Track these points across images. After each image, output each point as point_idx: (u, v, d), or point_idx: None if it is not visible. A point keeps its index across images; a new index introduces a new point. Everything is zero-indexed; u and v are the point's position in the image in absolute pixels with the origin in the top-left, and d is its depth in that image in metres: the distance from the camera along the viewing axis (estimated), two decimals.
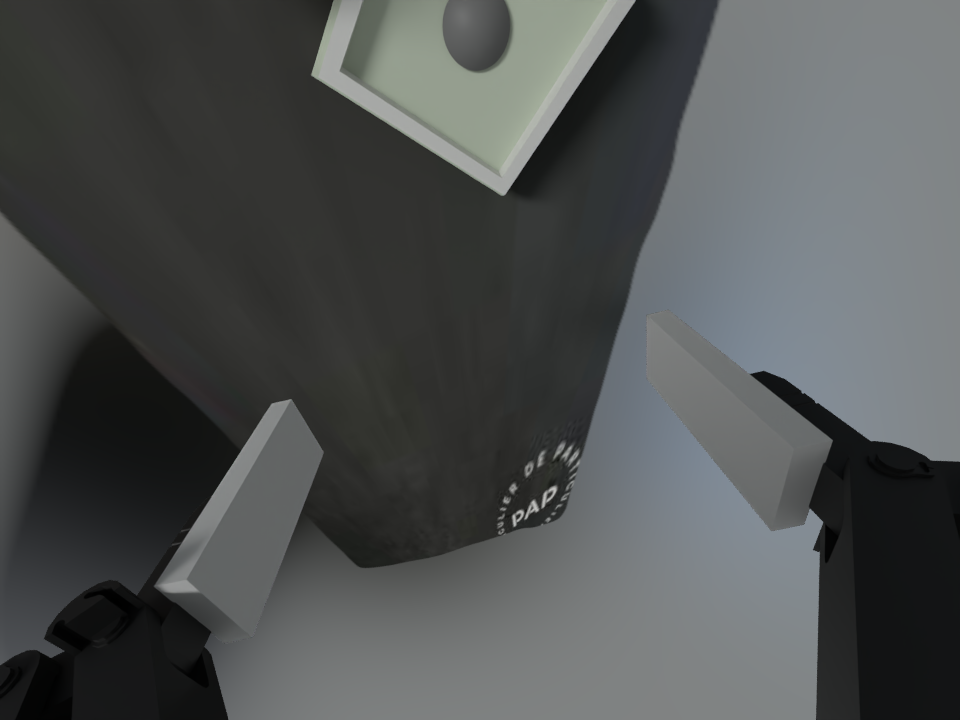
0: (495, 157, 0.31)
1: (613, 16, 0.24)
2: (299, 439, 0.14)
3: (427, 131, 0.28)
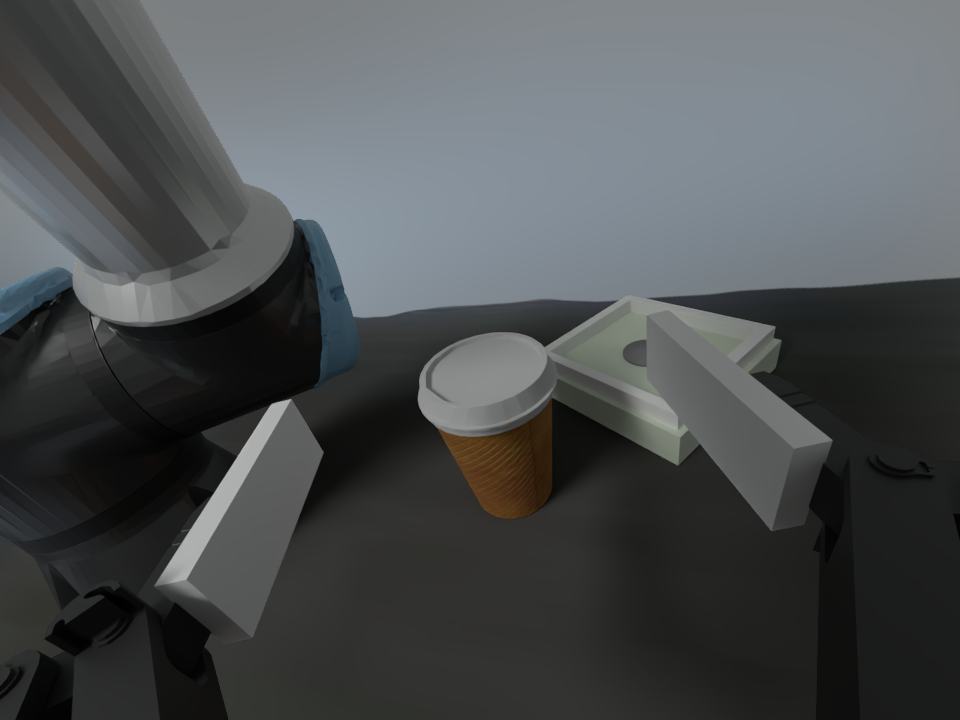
0: None
1: (641, 300, 0.43)
2: (299, 439, 0.14)
3: None
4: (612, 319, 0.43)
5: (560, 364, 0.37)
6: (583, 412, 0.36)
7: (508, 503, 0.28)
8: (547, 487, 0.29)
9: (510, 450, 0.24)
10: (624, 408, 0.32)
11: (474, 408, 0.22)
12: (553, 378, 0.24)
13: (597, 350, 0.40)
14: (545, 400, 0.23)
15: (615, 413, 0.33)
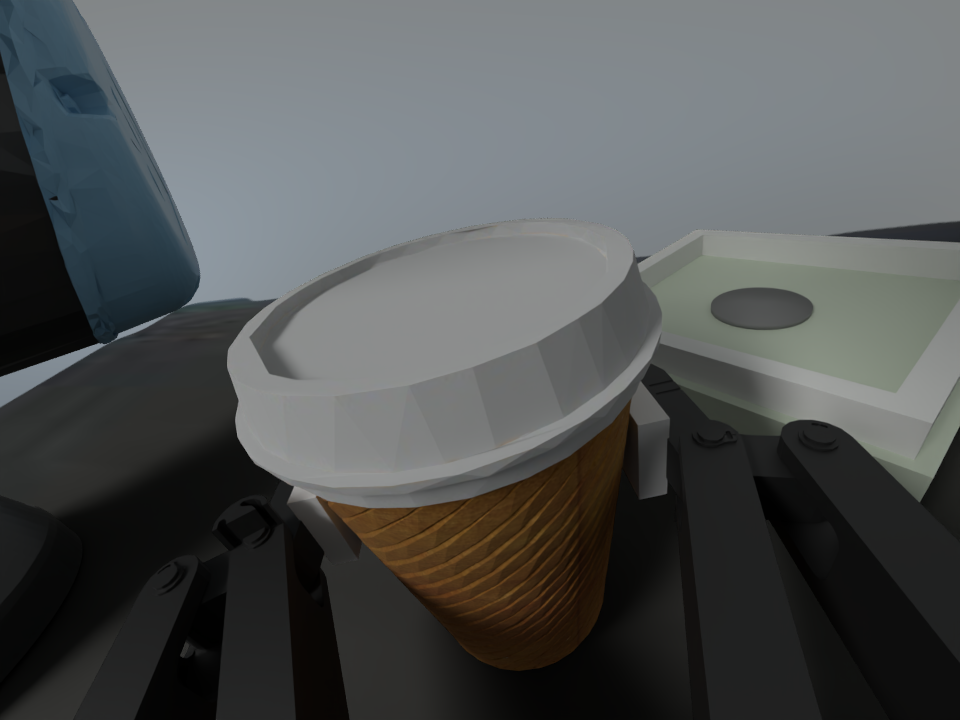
0: (949, 286, 0.19)
1: (723, 234, 0.27)
2: None
3: (956, 311, 0.15)
4: (676, 264, 0.27)
5: None
6: None
7: (506, 647, 0.11)
8: (600, 595, 0.12)
9: (513, 543, 0.07)
10: (751, 408, 0.15)
11: (358, 397, 0.05)
12: (650, 307, 0.08)
13: (661, 308, 0.23)
14: (642, 372, 0.06)
15: (726, 418, 0.16)
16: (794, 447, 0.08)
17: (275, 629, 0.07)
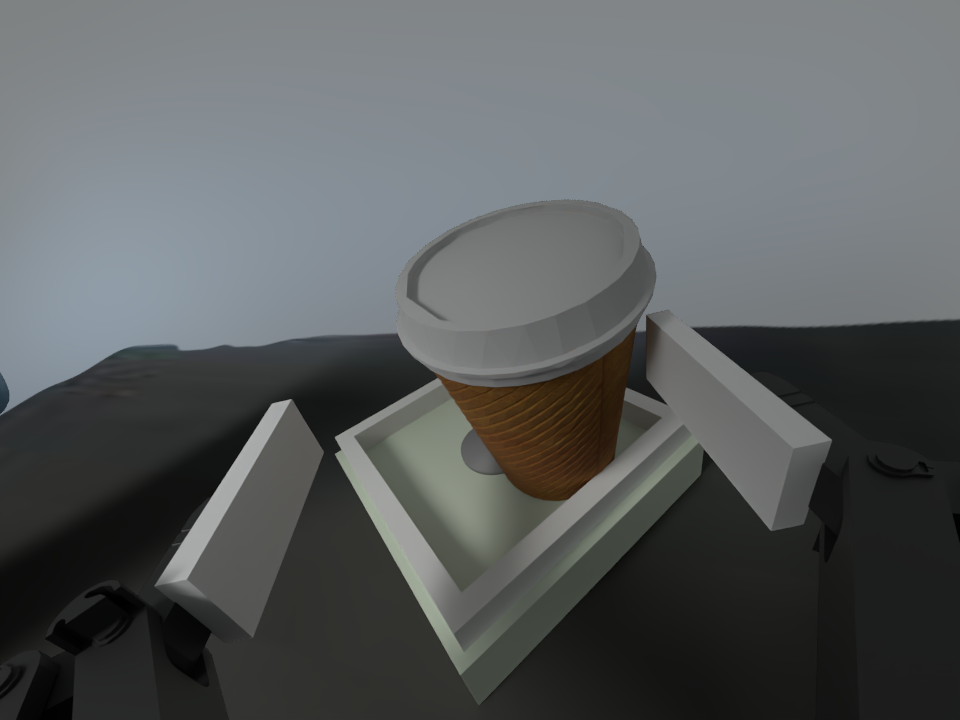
0: None
1: None
2: (299, 439, 0.14)
3: (577, 495, 0.17)
4: None
5: (352, 466, 0.23)
6: None
7: (551, 482, 0.17)
8: (612, 455, 0.18)
9: (565, 408, 0.13)
10: (407, 572, 0.18)
11: (498, 331, 0.11)
12: (649, 272, 0.13)
13: (434, 432, 0.26)
14: (640, 313, 0.11)
15: None
16: None
17: None
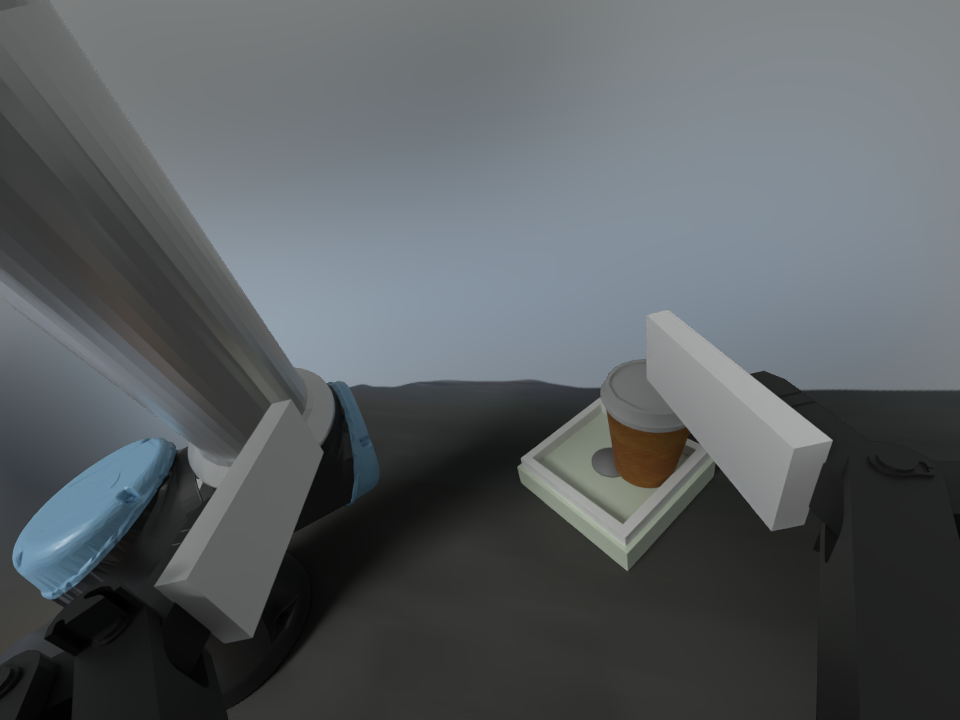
0: (684, 460, 0.44)
1: None
2: (299, 439, 0.14)
3: (662, 485, 0.40)
4: (585, 421, 0.52)
5: (540, 473, 0.45)
6: (558, 512, 0.45)
7: (651, 477, 0.40)
8: (675, 468, 0.41)
9: (671, 442, 0.36)
10: (587, 520, 0.40)
11: (661, 414, 0.34)
12: None
13: (571, 455, 0.48)
14: None
15: (581, 522, 0.41)
16: None
17: None
